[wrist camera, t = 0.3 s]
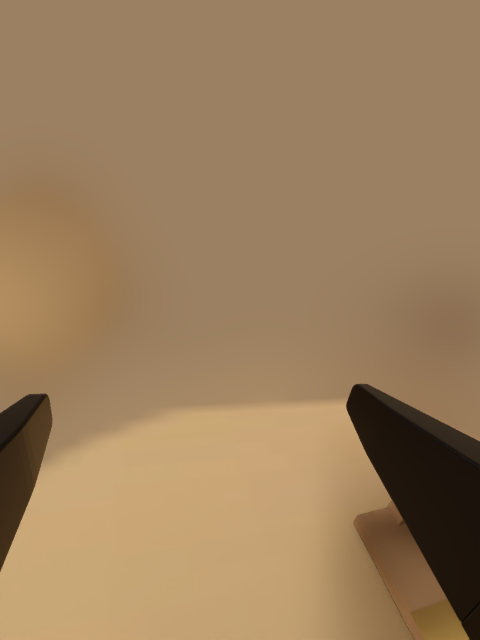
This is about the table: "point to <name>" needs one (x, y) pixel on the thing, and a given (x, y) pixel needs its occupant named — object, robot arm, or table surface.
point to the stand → (408, 576)
